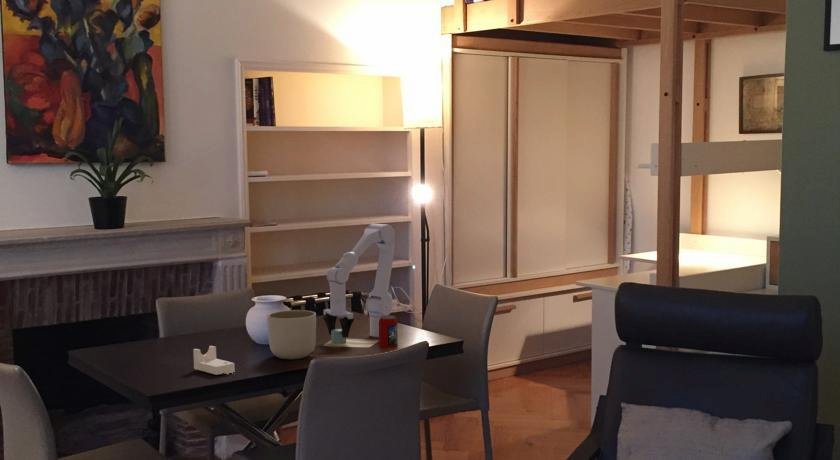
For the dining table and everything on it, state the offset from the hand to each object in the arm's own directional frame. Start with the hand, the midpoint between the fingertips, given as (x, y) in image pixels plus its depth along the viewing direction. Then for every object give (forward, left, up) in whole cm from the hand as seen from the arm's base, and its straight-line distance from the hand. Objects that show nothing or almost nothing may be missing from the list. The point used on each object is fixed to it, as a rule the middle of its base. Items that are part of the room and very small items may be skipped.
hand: (338, 335), depth 354 cm
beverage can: (+3, +20, -4) cm, 21 cm away
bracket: (+47, -27, -4) cm, 55 cm away
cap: (0, 0, -2) cm, 2 cm away
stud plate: (0, +5, -4) cm, 6 cm away
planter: (+21, -10, -4) cm, 24 cm away
